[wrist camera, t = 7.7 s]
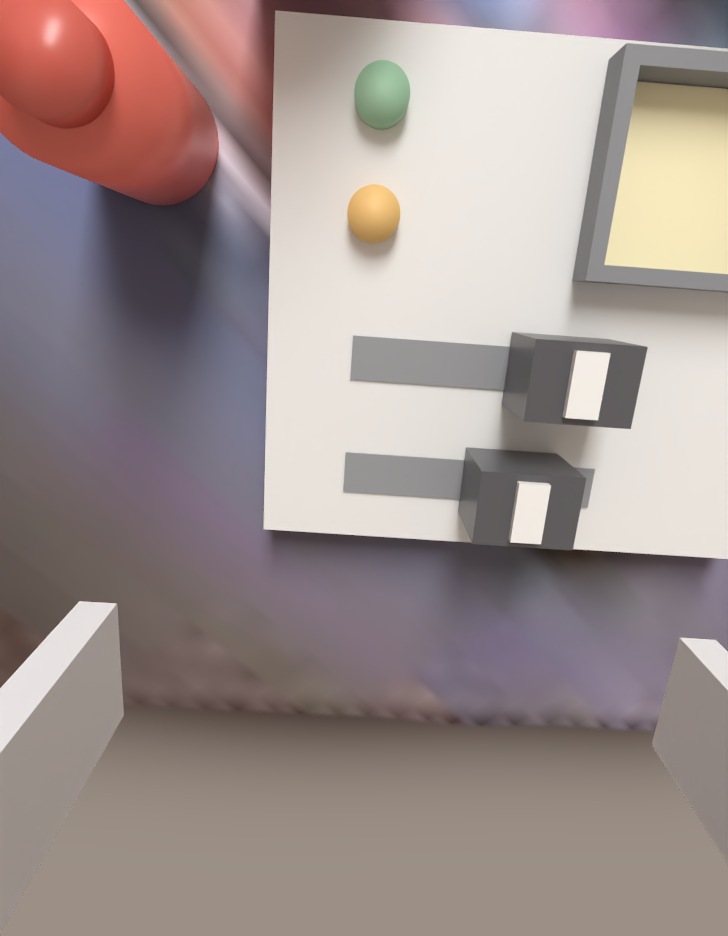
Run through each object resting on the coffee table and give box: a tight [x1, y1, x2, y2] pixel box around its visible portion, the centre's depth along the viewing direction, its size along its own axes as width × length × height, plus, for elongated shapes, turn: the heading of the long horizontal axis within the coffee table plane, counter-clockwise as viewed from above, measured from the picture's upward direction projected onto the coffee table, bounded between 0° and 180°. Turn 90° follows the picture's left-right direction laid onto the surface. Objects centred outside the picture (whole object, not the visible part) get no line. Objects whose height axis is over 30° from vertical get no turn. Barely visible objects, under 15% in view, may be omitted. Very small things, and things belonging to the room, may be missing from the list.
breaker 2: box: [458, 447, 586, 550], centre depth 24 cm, size 4×3×4 cm
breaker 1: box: [502, 332, 648, 429], centre depth 23 cm, size 4×3×4 cm
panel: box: [264, 10, 728, 559], centre depth 24 cm, size 22×20×4 cm
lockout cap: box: [0, 0, 218, 205], centre depth 19 cm, size 5×5×9 cm
